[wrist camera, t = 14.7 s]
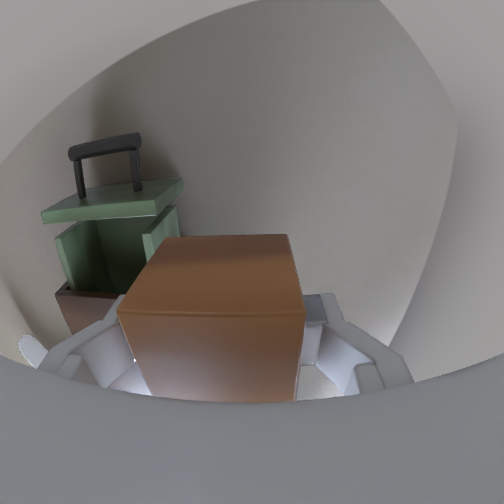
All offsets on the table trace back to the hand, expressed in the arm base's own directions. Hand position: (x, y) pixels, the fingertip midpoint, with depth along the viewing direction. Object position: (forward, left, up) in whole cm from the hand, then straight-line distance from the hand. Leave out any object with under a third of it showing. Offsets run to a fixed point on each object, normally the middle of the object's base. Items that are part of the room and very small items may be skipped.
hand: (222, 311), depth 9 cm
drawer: (+7, -10, -18) cm, 22 cm away
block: (0, 0, -2) cm, 2 cm away
